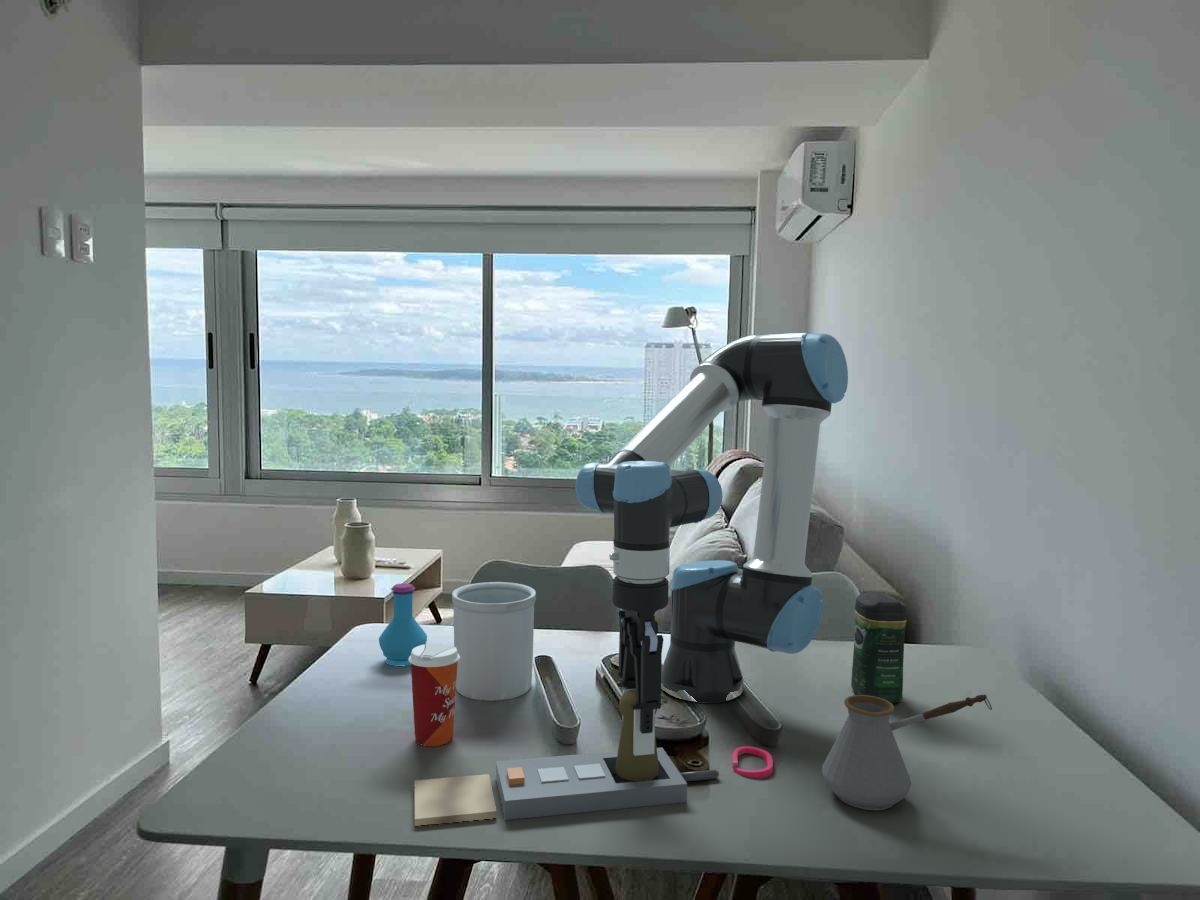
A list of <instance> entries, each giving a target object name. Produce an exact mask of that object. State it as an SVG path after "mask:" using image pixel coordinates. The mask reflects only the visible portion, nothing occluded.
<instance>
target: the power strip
mask: <svg viewBox="0 0 1200 900" xmlns="http://www.w3.org/2000/svg"><path fill="white" fill-rule="evenodd" d="M617 755H618V750H616V751H604V752H592V753H591V752H590V753H581V754H580V753H579V754H570V755H569V754H568V755H557V756H556V755H555V756H543V757H532V758H530V757H529V758H520V759H506V760H497V761H495V781H496V786H497V789H498V795H499V799H501V800H500V804H502V805H501V809H503V810H502V813H504V814H503V818H504V819H503V820H504V821H509V820H510V819H511V820H518V818H520V819H528V818H537V817H538V818H541V817H549V816H560V815H568V814H569V815H571V814H581V813H588V812H589V813H590V812H600V811H608V810H609V811H611V810H620V809H630V808H639V807H650V806H661V805H669V804H670V805H671V804H680V803H687V799H688V783H687V782H696V781H706V780H707V781H708V780H716V779H718V778H719V777H720V773H719V771H718V770H717V769H707V770H695V771H685V772H680V770H679V769H678V768H677V767H676V765H675V763H674V762H673V761H672V759H671V758H670V756H669V755H668V754H667V752H666V751H665V749H664V748H663V747H657V755H658V764H659V774H658V775H657V776H656V777H657V778H658V779H651V780H646V781H630V782H620V783H619V782H618V783H617V782H616V781H615V779H614V777H613V775H618V774H617V773H616V770H615V768H616V761H617Z"/></svg>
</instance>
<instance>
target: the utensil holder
mask: <svg viewBox="0 0 1200 900" xmlns="http://www.w3.org/2000/svg"><path fill="white" fill-rule="evenodd" d="M536 600H537V592H536V590H535V589H534V588H532V587H531V586H529V585H525V584H523V583H522V584H521V583H516V582H507V581H505V582H504V581H489V582H477V583H470V584H465V585H462V586H460V587H458V588H455V589H454V590H453V591H452V593H451V601H452V603H453V641H454V642H453V646H454V647H456V649H457V652H458V654H459V656H460V659H459V660H458V664H457V680H456V692H458V694H460V695H461V696H463V697H464V698H467V699H472V700H477V701H483V700H484V701H487V702H489V701H490V702H496V701H505V700H510V699H515V698H517V697H518V698H519V697H520V696H523V695H525V694H526V693H528V691H530V689H531V687H532V682H533V681H532V680H533V665H534V664H533V659H534V658H533V657H534V632H535V631H534V629H535V628H534V626H535V625H534V624H535V619H534V618H535V603H536Z"/></svg>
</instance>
